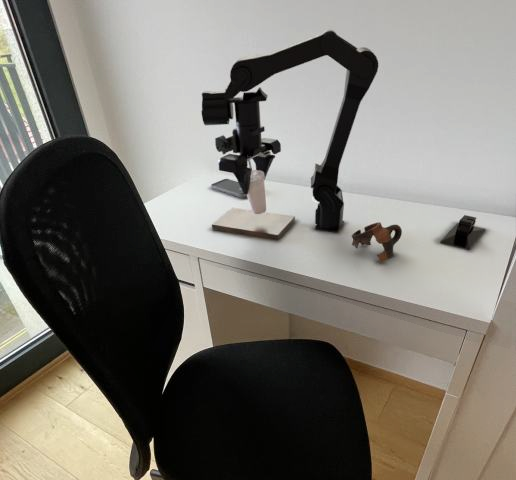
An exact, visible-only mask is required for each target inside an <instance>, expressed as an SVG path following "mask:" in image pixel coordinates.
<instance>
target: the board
mask: <svg viewBox="0 0 516 480" xmlns="http://www.w3.org/2000/svg"><path fill="white" fill-rule="evenodd" d="M295 222H296V216H295V215H288V214H282V213H275V212H267V211H265V212H264V213H261V214H254V213H253V211H252V209H247V208H246V209H245V208H238V207H231V208H229V209H228V210H227V211H226V212H225V213H223V214H222V215H221V216H220V217H219V218H218V219H217V220H215V221H214V222H212V224H211V229H212V230H214V231H219V232H224V233H232V234H238V235H243V236H250V237H256V238H262V239H268V240H274V241H279V240H280V239H281V238H282V237H283V236H284V234H285V233H286V232H287V231H288V230H289V229H290V228H291V227H292V225H293V224H294V223H295Z"/></svg>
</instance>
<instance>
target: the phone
mask: <svg viewBox="0 0 516 480" xmlns="http://www.w3.org/2000/svg"><path fill="white" fill-rule="evenodd" d="M210 188H211V189H213V190H216V191H219V192H222V193H226V194H228V195H231V196H234V197H237V198H241V199H245V198H248V197H247V195H246V194H243V191H242V189H241V187H240V185H239V182H238V180H233V179H229V178H224V179H221V180H218V181H215V182H213V183H211V185H210Z"/></svg>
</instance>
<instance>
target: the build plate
mask: <svg viewBox="0 0 516 480" xmlns="http://www.w3.org/2000/svg"><path fill="white" fill-rule="evenodd" d="M476 222H477V217H476V216H475V217H474V216H470V215H466V214H464V215H462V217H461V218H460V219H459V220H458V222H456V224H454V225H453V227H452V228H451V229H450V230H449V231H448V232H447V233H446V234H445V236H443V238H441V239H440V240H439V243H440V244H443V245H447V246H451V247H455V248H458V249H463V250H466V251H470V250H471V249H472V248H473V246H474V245H475V244H476V242H477V241H478V240H479V239H480V237H481V236H482V235H484V233H485V232H486V228H484V227H479V226H475V225H476Z"/></svg>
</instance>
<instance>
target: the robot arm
mask: <svg viewBox="0 0 516 480" xmlns="http://www.w3.org/2000/svg"><path fill="white" fill-rule="evenodd" d="M324 56H325V57H327V56H328V57H329V58H330V59H332V60H333V61H335V62H336V63H337V64H339V65H340V66H342V67H343V68H344V69H346V72H345V80H344V88H343V89H344V91H343V97H342V100H341V104H340V107H339V111H338V113H337V116H336V119H335V123H334V127H333V130H332V134H331V137H330V139H329V143H328V147H327V149H326V153H325V156H324V158H323V160H322V162H321V164H318V163H315V164H314V169H313V170H314V171H313V174H312V176H311V177H310V188H311V189H312V196H313V198H314V200H315V201H317V202H318V203H317V208H315V210H314V211H315V212H314V213H315V214H314V215H315V217H314V224H315V225H314V229H315V230H317V231H324V232H331V233H339V231H340V230H341V228H342V227H343V226H344V224H345V220H344V208H345V201H344V195H343V190H342V189H341V187H339V185H338V182H339V181H338V180H339V173H340V171H339V170H340V165H341V163H342V158H343V156H344V153H345V150H346V148H347V144H348V141H349V138H350V135H351V132H352V129H353V127H354V123H355V120H356V117H357V113H358V111H359V108H360V104H361V102H362V100H363V99H364V98H365V96H366V94H367V93H368V91H369V90H370V87H371V85H372V84H373V81H374V80H375V77H376V75H377V73H378V70H379V60H378V58H377V56H376V53H375V54H374V52H373V51H372V50H371V49H370V48H368V47H366V46H365V47H363V46H362V47H359V48H358V47H356V46H355V45H353V44H352V43H351V42H349V41H348V40H346V39H344V38H343V37H341V36H339V35H338V34H337V32H336V31H334V30H333V29H326V30H324V31H323V32H321V33H319V34H317V35H313V36H312V37H309V38H306V39H304V40H301V41H299V42H296V43H293V44H291V45H288V46H285V47H283V48H279V49H278V50H275V51H273V52H269V53H268V52H267V53H261V54H259V53H258V54H252V55H246V56H245V55H244V56H242V57H240V58H238V59H237V60H236V62H234V63H233V65H232V66H231V69H230V71H229V72H230V73H229V78H230V81H229V83H228V85H227V86H226V87H225V90H221V91H219V90H218V91H211V90H204V91H203V92H202V93H201V98H202V99H201V111H200V113H201V119H202V122H203V125H204V126H222V125H223V126H224V125H230V120H233V119H234V114H235V123H236V124H235V126H236V127H235V128H233V129H232V135H231V136H228V137H226V136H225V135H224V134H222V135H220V136H218V137H215V139H214V141H215V142H214V144H215V149H216V151H217V152H218V153H221V154H222V155H223V156H221V157H220V158H219V159H218V161H217V164H218V171H221V172H224V173H232V174H233V175H234V177H235V178H236V181H237V182H239V185H240V187H241V189H242V191H243V194H246V195H247V194H248V191H249V184H250V177H251V171H253V167H252V168H249V163H248V160H250V161H251V160H253V162H254V164H255V170H260V171H263V172H264V175H265V179H264V181H265V180H266V178H267V175H268V172H269V170H270V168H271V165H272V163H273V161H274V159H275V158H276V155H277V154H279V153H281V152H282V145H281V144H282V143H281V142H280V141H279V140H278V139H275V138H268V137H263V138H262V133H264V132H266V131H265V130H266V129H265V126H264V125H261V109H260V108H261V107H260V102H267V100H268V97H269V96H268V94H267V93H266V92H264V90H263V89H262V87H260V86H259V85H261V84H262V83H263V82H265V81H266V80H268V79H269V78H271V77H273V76H274V75H276V74H279V73H282V72H285V71H287V70H290V69H293V68H295V67H298V66H300V65H304V64H306V63H309V62H312V61H314V60H317V59H320V58H322V57H324ZM257 86H259V87H258V88H257V90H255V91H251V90H252V89H254V88H255V87H257ZM240 93H242V96H237V95H239V94H240ZM236 96H237V97H236ZM229 152H232V153H229ZM271 153H272V154H271Z"/></svg>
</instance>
